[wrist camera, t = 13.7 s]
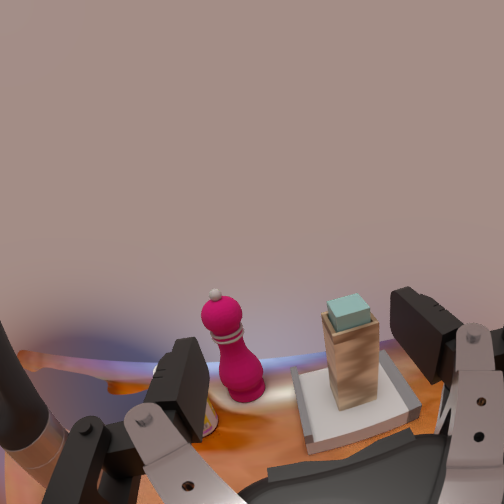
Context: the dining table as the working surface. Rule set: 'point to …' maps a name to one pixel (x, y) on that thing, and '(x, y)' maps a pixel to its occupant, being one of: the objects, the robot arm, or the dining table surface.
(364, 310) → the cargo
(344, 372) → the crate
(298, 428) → the dining table surface
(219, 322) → the pepper mill
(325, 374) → the dock
